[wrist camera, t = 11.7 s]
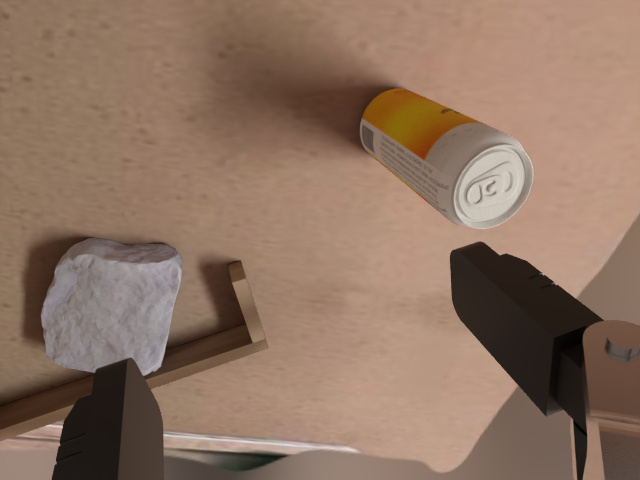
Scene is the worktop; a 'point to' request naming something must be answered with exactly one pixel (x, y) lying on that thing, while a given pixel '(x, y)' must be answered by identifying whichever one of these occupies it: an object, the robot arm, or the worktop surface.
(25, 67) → the worktop surface
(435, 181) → the beer can
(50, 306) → the stone block
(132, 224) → the worktop surface
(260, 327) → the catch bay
